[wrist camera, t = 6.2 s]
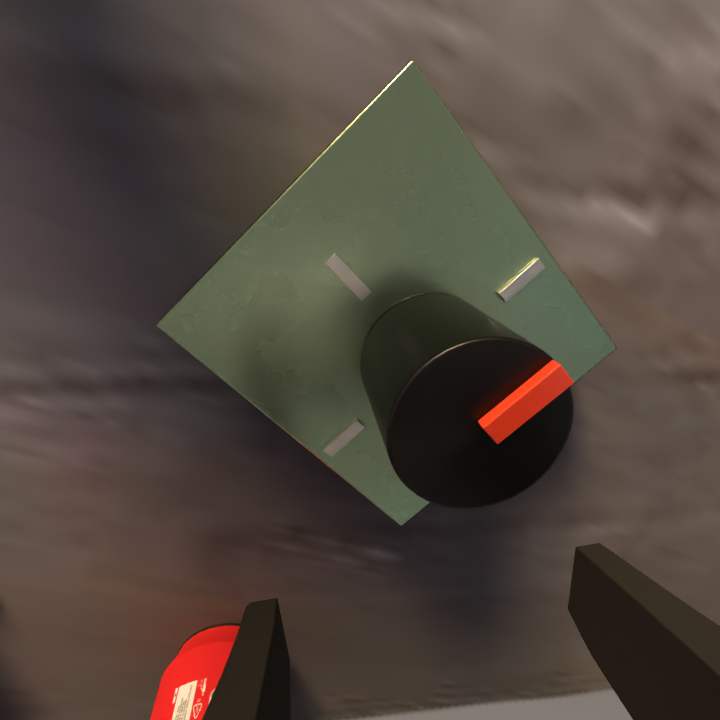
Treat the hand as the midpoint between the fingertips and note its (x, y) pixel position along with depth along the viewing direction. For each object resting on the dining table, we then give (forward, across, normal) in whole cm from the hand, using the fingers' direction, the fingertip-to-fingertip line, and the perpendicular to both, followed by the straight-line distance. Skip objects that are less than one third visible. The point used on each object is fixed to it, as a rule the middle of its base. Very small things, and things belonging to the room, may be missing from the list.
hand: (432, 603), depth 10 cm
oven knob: (+4, -1, -4) cm, 6 cm away
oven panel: (+7, -1, -5) cm, 9 cm away
